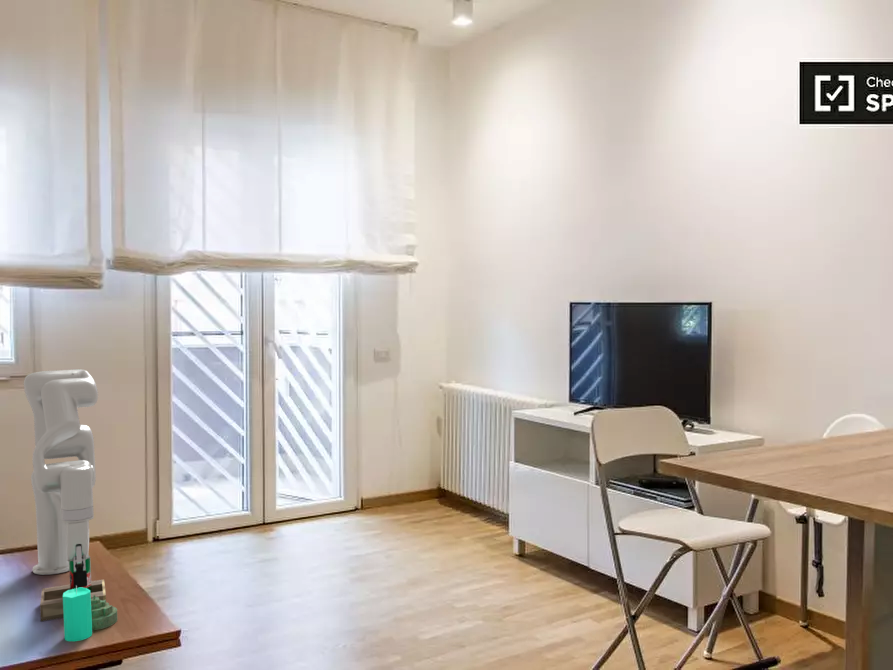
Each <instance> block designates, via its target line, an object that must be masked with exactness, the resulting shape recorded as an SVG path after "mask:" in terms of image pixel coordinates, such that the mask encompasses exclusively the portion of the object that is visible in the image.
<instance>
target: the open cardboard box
mask: <svg viewBox="0 0 893 670" xmlns="http://www.w3.org/2000/svg"><path fill="white" fill-rule="evenodd" d="M91 588H92V593H91V599H92V598H93V595H95V598H96V597H99V599H100V600H106V601H107V594H106V593H107V592H106V585H105V579H98V580H91ZM67 590H70V584H64V585H57V586H52V587H44V588H41V594H40V595H41V596H40V602H39V611H40V613H39V614H40V616H39V617H40V622H46V621H52V620H59V619H64V614H63V593H64V592H66V591H67Z"/></svg>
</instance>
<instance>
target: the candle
mask: <svg viewBox="0 0 893 670" xmlns="http://www.w3.org/2000/svg"><path fill="white" fill-rule="evenodd" d="M63 614H64V618H63V635H64V636H63V637H64V640H65V642H80V641H83V640H86V639H89V638H90V637H92V636H93V631H92V616H91V593H90V590H89V589H87V588H83V587H80V588H77V586H76V589H71V590H67V591H66V592H64V593H63Z"/></svg>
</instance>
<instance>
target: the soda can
mask: <svg viewBox="0 0 893 670" xmlns="http://www.w3.org/2000/svg"><path fill="white" fill-rule="evenodd" d="M82 559H84V555H83V557H82ZM75 560H77V558H76V557H75ZM73 561H74V559H73V560H70V562H69V571H68V572H69V585H70V590H71V589H76V588H74V585H73V572H74V562H73ZM82 563H83V561H82ZM91 563H92V562H91V556H90V555H89V552H88V558H87V559H85V567H86V570H87V586H84V587H83V588H87V589H89V590H90V593H92V588H91V581H92V570H91V569H92V568H91V565H92V564H91ZM76 564H77V562H76ZM78 588H80V587H78Z"/></svg>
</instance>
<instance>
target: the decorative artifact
mask: <svg viewBox="0 0 893 670" xmlns="http://www.w3.org/2000/svg"><path fill="white" fill-rule="evenodd" d="M91 616H92V632H93V631H98V630H102V629H105V628H109V627H111V626H113V625H115V624H116V623H117V622H118V608H117V607H115V606H113V604H112V605H110V603H109V602H108V601H107V599H106V600H100V599H99V597H96V598H95V595H93V598H92V599H91Z"/></svg>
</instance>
